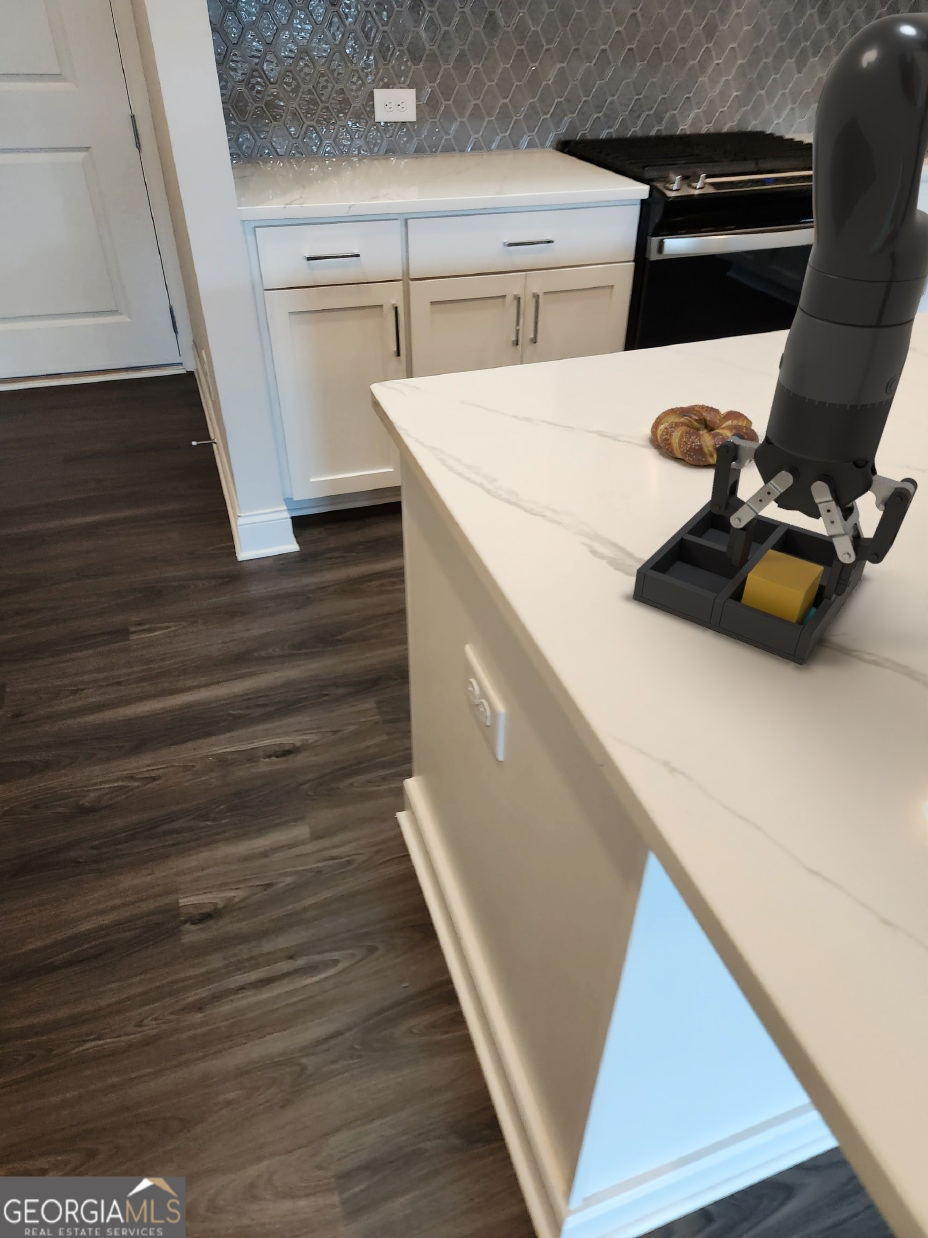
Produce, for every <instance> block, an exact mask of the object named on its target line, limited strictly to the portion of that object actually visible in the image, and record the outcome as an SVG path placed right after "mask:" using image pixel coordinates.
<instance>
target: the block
mask: <svg viewBox="0 0 928 1238" xmlns="http://www.w3.org/2000/svg"><path fill="white" fill-rule="evenodd" d="M823 569H824V567H822V566H819V565H816V564H813V563H810V562H807V561H804V560H801V559H798V558H795V557H792V556H789V555H786V554H783V553H780V552H777V551H774V550H771V549H769V550H768V552H767V553H766V554H765V555H764V556H763V557H762V559H761V560H760V561H759V562H758V563H757V564H756V566H755V567H754V568H753V569H752V570H751V571H750V573H749V574H748V577H747V581H746V585H745V590H744V594H743V598H742V602H741V603H742V604H745V605H748V606H751V607H753V608H756V609H759V610H761V611H764V612H767V613H770V614H772V615H775V616H778V617H780V618H783V619H786V620H788V621H791V622H794V623H797V624H799V625H801V624H802V623H803V622H804V620H805V619H806V617H807V616H808V614H809V613H810V612H811V609H812V605H813V602H814V599H815V596H816V592H817V589H818V586H819V582H820V579H821V576H822V573H823Z"/></svg>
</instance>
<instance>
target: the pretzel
mask: <svg viewBox="0 0 928 1238" xmlns="http://www.w3.org/2000/svg"><path fill="white" fill-rule="evenodd" d="M752 427H753V421H752V420H751V419H750V418H749V417H748V416H747V415H745V414H744V413H743V412H740V411H737V410H733V409H732V410H731V409H730V410H726V411H725V412H723V413H722V412H721V411H720V409H719V408H716V407H714V406H710V405H706V404H691V405H687V406H676V407H671V408H667V409H665V410H664V411H662V412H661V413H659V415H657V417H656V418H655V420H654V421H653V423H652V425H651V428H650V435H651V439H652V441H653V442H654V444H655V445H657V446H659V447H660V448H662V451H663V452H664V453H665V454H666V455H668V456H670V457H672V458H677V459H683V461H685V462H686V463H688V464H691V465H694V466H695V465H697V466H706V465H715V464H716V457H717V450H718V447H719V446H720V445H721V444H722V443H723V442H724V441H725V440H726V439H728V438H729V437H730V436H731V435H733V434H734V433H740V434H742V435H743V436H744V437H745V440H747V441H751V442H756V443H760V438H759V436H758V435H759V434H758V433H757V431H756V430H755V429H754V428H752Z"/></svg>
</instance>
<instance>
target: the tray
mask: <svg viewBox="0 0 928 1238" xmlns="http://www.w3.org/2000/svg"><path fill="white" fill-rule="evenodd" d="M710 503H711V499H709V500H708V501H707V502H706V503H705V504H704V505H703V506H702V507H701V508H700V509H699V510H698V511H696V513H695V514H693V516H691V518H689V520H687V521H686V522H685V523H684V524H683V525H682V526H681V527H680V528H679V529H678V530H677V531H676V532H675V533H674V534H673V535H672V536H670V537H669V539H667V540H666V542H665V543H663V544H662V545H661V546H660V547H659V548H658V549H657V550H656V551H655V552H654V553H652V554H651V556H649V558H648V559H647V560H646V561H644V563H642V564H641V565H640V566H639V567H638V568H637V569H636V571H635V581H634V587H633V595H632V599H634V600H636V601H639V602H641V603H644V604H647V605H649V606H652V607H654V608H656V609H659V610H661V611H664V612H667V613H669V614H672V615H674V616H677V617H680V618H682V619H684V620H687V621H689V622H692V623H695V624H697V625H700V626H702V627H705V628H708V629H710V630H713V631H715V632H717V633H720V634H722V635H725V636H727V637H731V638H733V639H736V640H738V641H740V642H743V643H745V644H747V645H750V646H754V647H756V648H759V649H761V650H763V651H766V652H768V653H771V654H773V655H776V656H779V657H782V658H784V659H787V660H789V661H791V662H794V663H796V664H799V665H802V666H803V665H804V664H805V662H806V661H807V659H808V658H809V656H810V655H811V653H812V651H813V650H814V649H815V647H816V646H817V644H818V643H819V641H820V640H821V638H822V636H824V633H825V632H826V631H827V630H828V628H829V627H830V625H831V623H832V621H833V620H834V619H835V617H836V616H837V614H838V613H839V611H840V610H841V608H842V607H843V605H844V604H845V602H846V601H847V599H848V598H849V596H851V593H852V592H853V590H854V589H855V587H856V586H857V584H858V583H859V581H860V580H861V578H862V576H863V573H864V571H865V567H866V565H867V562H868V561H859V562H858V564H857V567H856V570H855V573H854V576H853V579H852V582H851V584H850V586H849V587H848V589H847V590H846V592H845V593H844V594H843V595H842V596H838V595H836V596H835V597H834V598H833V600H832V601H831V600H828V599H825V598H823V593H824V590H825V587H826V584H827V580H828V577H829V574H830V571H831V567H832V564H833V561H834V559H835V558H836V556H837V552H836V549H835V545H834V542H833V539H832V538H831V537H829V536H828V534H824V533H821V532H817V531H814V530H811V529H809V528H808V529H807V528H805V527H801V526H798V525H794V524H791V523H789V522H785V521H781V520H778V519H775V518H772V517H768V516H765V515H762V514H760V513H758V514H757V515H756V516H754V519H755V520H757V523H756V528H755V532H754V536H753V541H752V545H751V549H750V553H749V557H748V559H747V561H746V562H745V563H744V564H743V565H742V566H741V568H740V569H738V568H735V567H732V566H731V565H730V564H731V559H729V558H727V555H726V549H727V544H728V540H729V535H730V530H731V523H730V520H729V519H728V518H727V517H725V516H724V515H722V514H719V515H717V514H714V513H713V512H712V511H711V509H710ZM769 549H771V550H774V551H777V552H780V553H783V554H786V555H789V556H792V557H795V558H798V559H801V560H804V561H807V562H810V563H813V564H816V565H819V566H822V567H824V569H823V573H822V576H821V579H820V582H819V586H818V589H817V592H816V596H815V599H814V602H813V605H812V609H811V612H810V613H809V614H808V616H807V617H806V619H805V620H804V622H803V623H802V624H801V625H799V624H797V623H794V622H791V621H788V620H786V619H783V618H780V617H778V616H775V615H772V614H770V613H767V612H764V611H761V610H759V609H756V608H753V607H751V606H748V605H745V604H742V603H741V602H742V598H743V594H744V590H745V585H746V581H747V577H748V574H749V573H750V571H751V570H752V569H753V568H754V567H755V566H756V564H757V563H758V562H759V561H760V560H761V559H762V557H763V556H764V555H765V554H766V553H767V552H768V550H769Z"/></svg>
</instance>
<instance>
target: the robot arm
mask: <svg viewBox="0 0 928 1238" xmlns="http://www.w3.org/2000/svg"><path fill="white" fill-rule="evenodd" d="M925 159H928V11H925V12H908V13H905V12H904V13H896V14H890V15H887V16H883V17H881V18H878V19H876V20H873V21H872V22H869V23H868V24H867V25H865V26H864V27H863V28H861V29H860V30H859V31H858V32H856V33H855V34H854V35H853V36H852V37H851V38H850V39H849V40H848V41H847V42H846V43H845V44H844V46H843V48H842V49H841V51H840V52H839V53H838V55H837V57H836V58H835V60H834V62H833V63H832V66H831V67H830V69H829V71H828V73H827V76H826V78H825V81H824V83H823V85H822V88H821V92H820V94H819V97H818V100H817V105H816V110H815V115H814V123H813V132H812V217H813V233H814V234H813V241H812V246H811V249H810V253H809V257H808V262H807V265H806V266H807V267H806V270H805V274H804V279H803V283H802V288H801V292H800V297H799V301H798V305H797V307H796V308H797V309H796V311H795V315H794V318H793V321H792V323H791V326H790V329H789V331H788V335H787V338H786V341H785V345H784V349H783V352H782V353H781V356H780V360H779V364H778V376H777V379H776V380H777V381H776V385H775V389H774V394H773V399H772V403H771V408H770V411H769V415H768V419H767V420H768V421H767V425H766V429H765V433H764V434H765V435H764V438H763V440H762V441H761V443H760V442H759V443H756V442H751V441H747V440H745V437H744V436H743V435H742V434H740V433H734V434H733V435H731V436H730V437H729V438H728V439H726V440H725V441H724V442H723V443H722V444H721V445H720V446H719V447H718V450H717V457H716V464H714V473H713V480H712V488H711V496H710V500H711V503H710V509H711V511H712V512H713V513H714V514H717V515H719V514H722V515H724V516H725V517H727V518H728V519H729V520H730V523H731V530H730V535H729V540H728V544H727V549H726V555H727V558H729V559H731V564H730V565H731V566H732V567H735V568H738V569H740V568H741V566H742V565H743V564H744V563H745V562H746V561H747V559H748V557H749V553H750V549H751V545H752V541H753V536H754V532H755V528H756V523H757V520H755V519H754V516H756V515H757V514H760V513H761V512H762V511H763V510H764V509H766V507H768V506H769V505H770V504H771V503H772V502H774V503H775V504H777V505H776V507H777V508H779V509H781V510H785V511H791V512H799V513H800V514H802V515H805V516H806V517H807V518H812V519H814V520H817V521H819V520H820V519H822V522H823V525H824V528H825V531H826V535H827V536H829V537H831V538H832V539H833V542H834V545H835V549H836V552H837V556H836V558H835V559H834V561H833V564H832V567H831V571H830V574H829V577H828V580H827V584H826V587H825V590H824V593H823V598H825V599H828V600H831V601H832V600H833V598H834V597H835V596H836V595H838V596H842V595H843V594H844V593H845V592H846V590H847V589H848V587H849V586H850V584H851V582H852V579H853V576H854V573H855V570H856V567H857V564H858V562H859V561H867V562H869V563H870V564H872V565H879V564H881V563H883V561H884V560H885V558H886V556H887V555H888V553H889V552H890V550H891V548H892V547H893V545H894V543H895V541H896V538H897V536H898V534H899V532H900V529H901V527H902V525H903V522H904V520H905V517H906V516H907V513H908V511H909V508H910V506H911V503H912V501H913V499H914V497H915V495H916V492H917V490H918V487H919V485H918V484H919V483H918V482H917V481H916V479H914V478H912V477H903V478H902V479H901V480H895V479H893V478H889V477H886V476H884V475H880V474H878V471H877V468H876V455H877V452H878V449H879V446H880V443H881V439H882V437H883V433H884V431H885V428H886V424H887V421H888V418H889V416H890V415H889V414H890V411H891V408H892V406H893V402H894V399H895V396H896V393H897V390H898V387H899V383H900V381H901V377H902V374H903V370H904V368H905V364H906V362H907V358H908V354H909V349H910V344H911V339H912V333H913V326H914V323H915V318H916V315H917V312H918V309H919V306H920V303H921V300H922V296H923V293H924V290H925V287H926V284H927V281H928V213H927V212H925V211H924V210H921V209H920V208H918V203H919V195H920V187H921V180H922V175H923V174H922V173H923V168H924V167H923V166H924V163H925ZM750 460H753V462H754V465H755V467H756V469H757V472H758V473H759V476H760V478H761V480H762V482H763V485H762V486H761V487H760V488H759V489H758V490H757V491H756V492H754V493H753V494H752V496H750V497H749V498H748V499H747V500H746V501H745V500H743V499H742V498H741V497H739V496H738V492H739V486H740V479H741V474H742V473H741V472H742V469H743V468H744V467H746V466H747V465H748V464H749V463H750ZM868 492H871V493H872V494H873V495H874V496H875V497H874V498H875V503H874V504H875V507H876V509H877V510H878V511H880V512H882V514H881V516H880V519H879V521H878V522H877V526H876V528H875V531H874V533H873V536H872V537H865V536H864V532H863V528H862V527H861V523H860V511H859V510H860V509H859V507H858V505H857V500H858V499H860V498H861V497H863V496H864V495H866V494H867V493H868Z"/></svg>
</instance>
